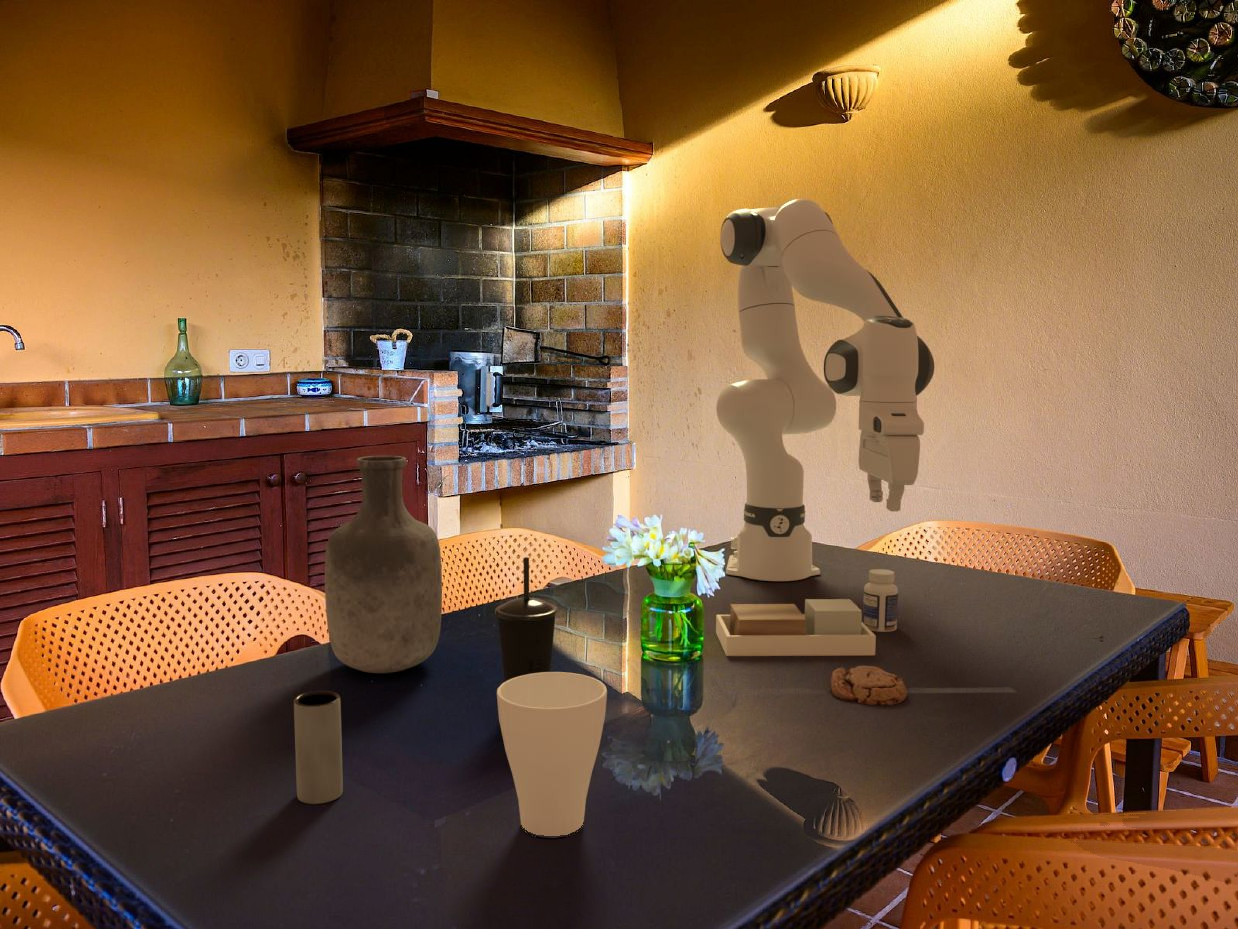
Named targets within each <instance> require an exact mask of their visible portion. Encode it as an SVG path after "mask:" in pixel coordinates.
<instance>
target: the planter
mask: <svg viewBox="0 0 1238 929" xmlns="http://www.w3.org/2000/svg"><path fill="white" fill-rule="evenodd" d="M341 708H342V707H341V696H340V694H339V693H337V692H334V691H330V690H316V691H314V690H313V691H309V692H306V693H302V694H298V695H297V696H296V697H295V698H294V700H293V718H294V719H293V720H294V721H293V722H294V748H295V749H294V750H295V774H296V776H295V778H296V779H295V780H296V794H297V795H296V797H297V799H298V801H300V802H302V803H304V804H307V805H308V804H310V805H319V804H326V803H329V802H332V801H334V800H337V799H339V798H340V797H341V796H342V794H343V792H344V790H343V786H344V784H343V779H344V778H343V748H342V746H343V745H342V744H343V743H342V741H343V740H342V709H341Z"/></svg>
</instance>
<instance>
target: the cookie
mask: <svg viewBox="0 0 1238 929" xmlns="http://www.w3.org/2000/svg"><path fill="white" fill-rule="evenodd" d="M830 678H831V679H830V686H831V687H830V691H831V693H832V695H833V696H835V697H836V698H839V699H841V700H847V701H848V700H849V701H853V702H856V701H857V703H858V704H866V705H870V706H871V705H872V706H873V705H874V706H875V705H883V706H884V705H885V706H887V705H888V706H892V705H895V704H901V703H903V701H905V700H906V699H907V692H908V691H907V688H906V686H905V683H904V681H903V678H901V677H898V676H897V674H893V673H890V672H887V671H886V670H883V668H880V667H878V666H873V665H869V666H868V665H858V666H856V667H851V668H850V669H849V670H847V669H845V668H844V667H838V668H836V669H835V670H833V671H832V673H831V677H830Z"/></svg>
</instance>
